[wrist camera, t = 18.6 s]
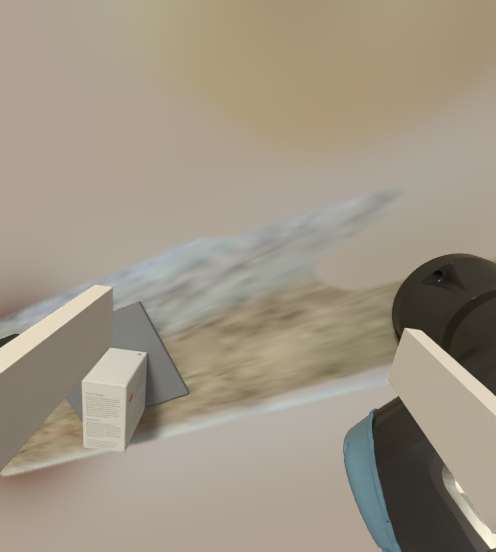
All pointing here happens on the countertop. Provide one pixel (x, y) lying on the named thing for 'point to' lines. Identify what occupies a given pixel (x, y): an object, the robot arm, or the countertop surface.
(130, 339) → the slate mat
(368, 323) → the countertop surface
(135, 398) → the small box
